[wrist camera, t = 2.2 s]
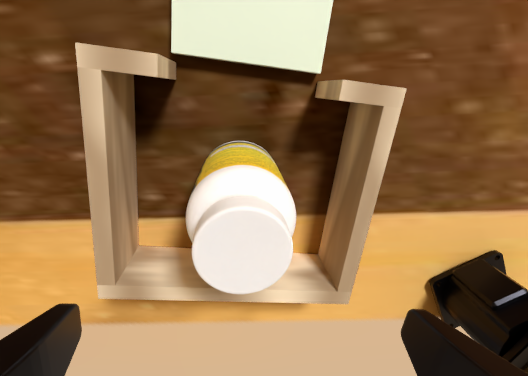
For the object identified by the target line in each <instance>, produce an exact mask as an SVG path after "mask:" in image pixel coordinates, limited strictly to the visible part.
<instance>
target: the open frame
mask: <svg viewBox="0 0 528 376" xmlns="http://www.w3.org/2000/svg"><path fill="white" fill-rule="evenodd" d="M75 46H76V57H77V68H78V79H79V90H80V101H81V112H82V123H83V134H84V145H85V156H86V167H87V178H88V189H89V200H90V212H91V223H92V234H93V245H94V256H95V267H96V278H97V289H98V299H136V300H182V301H227V302H273V303H319V304H348V303H349V300H350V296H351V292H352V289H353V285H354V281H355V278H356V274H357V270H358V266H359V263H360V259H361V255H362V252H363V248H364V244H365V241H366V237H367V233H368V230H369V226H370V222H371V218H372V215H373V211H374V207H375V204H376V200H377V196H378V193H379V189H380V185H381V181H382V178H383V174H384V170H385V167H386V163H387V159H388V156H389V152H390V148H391V145H392V141H393V137H394V133H395V130H396V126H397V122H398V119H399V115H400V111H401V108H402V104H403V100H404V97H405V93H406V88H399V87H392V86H385V85H378V84H370V83H363V82H356V81H349V80H333V81H319V82H318V83H317V88H316V94H315V98H322V99H330V100H338V101H346V102H350V106H349V111H348V115H347V120H346V125H345V130H344V134H343V139H342V144H341V149H340V153H339V158H338V163H337V167H336V172H335V177H334V182H333V186H332V191H331V196H330V201H329V205H328V210H327V215H326V219H325V224H324V229H323V234H322V238H321V243H320V248H319V253H318V254H304V253H293V255H292V259H291V263H290V265H289V267H288V269H287V270H286V272H285V273H284V275H283V276H282V277H281V278H280V279H279V280H278V281H277V282H275V283H274V284H273V285H271V286H269V287H268V288H266V289H264V290H261V291H258V292H255V293H250V294H231V293H226V292H223V291H220V290H217V289H215V288H213V287H212V286H210V285H209V284H208V283H206V282H205V281H204V280H203V279H202V278H201V277H200V275H199V274H198V272H197V271H196V269H195V266H194V263H193V260H192V248H177V247H156V246H139V233H138V200H137V167H136V134H135V101H134V75H142V76H150V77H158V78H166V79H173V80H176V62H174V61H172V60H170V59H168V58H165V57H163V56H161V55H159V54H154V53H147V52H140V51H133V50H125V49H118V48H111V47H104V46H97V45H89V44H82V43H75Z"/></svg>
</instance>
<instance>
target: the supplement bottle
mask: <svg viewBox="0 0 528 376" xmlns="http://www.w3.org/2000/svg"><path fill="white" fill-rule="evenodd" d="M295 225H296V210H295V205H294V201H293V199H292V196H291V194H290V191H289V189H288V188H287V186H286V184H285V182H284V179H283V177H282V175H281V174H280V172H279V170H278V167H277V165H276V164H275V162H274V160H273V159H272V157H271V156H270V155H269V153H268V152H267V151H266V150H264V149H263V148H262V147H260V146H258V145H256V144H254V143H251V142H247V141H232V142H228V143H225V144H223V145H221V146H219V147H217V148H216V149H215V150H213V151H212V152H211V153H210V154H209V156H208V157H207V159H206V160H205V162H204V164H203V166H202V168H201V171H200V173H199V176H198V178H197V181H196V183H195V186H194V188H193V191H192V193H191V195H190V198H189V201H188V205H187V209H186V227H187V232H188V235H189V237H190V239H191V241H192V260H193V263H194V266H195V269H196V271H197V272H198V274H199V275H200V277H201V278H202V279H203V280H204V281H205V282H206V283H208V284H209V285H210V286H212V287H213V288H215V289H217V290H220V291H223V292H226V293H231V294H250V293H255V292H258V291H261V290H264V289H266V288H268V287H269V286H271V285H273V284H274V283H275V282H277V281H278V280H279V279H280V278H281V277H282V276H283V275H284V273H285V272H286V270H287V269H288V267H289V265H290V263H291V259H292V255H293V242H292V235H293V233H294V229H295Z"/></svg>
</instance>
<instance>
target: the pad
mask: <svg viewBox="0 0 528 376" xmlns="http://www.w3.org/2000/svg"><path fill="white" fill-rule="evenodd" d="M332 4H333V0H172V32H171V52H172V53H173V54H178V55H185V56H193V57H200V58H207V59H214V60H221V61H228V62H235V63H243V64H250V65H257V66H264V67H271V68H278V69H285V70H293V71H300V72H307V73H314V74H319V73H321V68H322V62H323V56H324V51H325V45H326V39H327V33H328V27H329V22H330V16H331V10H332Z"/></svg>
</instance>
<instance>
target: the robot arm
mask: <svg viewBox="0 0 528 376" xmlns="http://www.w3.org/2000/svg"><path fill="white" fill-rule="evenodd" d="M430 286H431V289H432V292H433V295H434V298H435V301H436V304H437V307H438V310H439V313H440V317H441V320H440V319H439V318H437V317H436V316H434V315H432V314H431V313H429V312H428V311H426V310H423V309H411V310H409V311H408V313H407V315H406V318H405V321H404V324H403V326H402V329H401V337H402V340H403V343H404V345H405V347H406V350H407V352H408V354H409V357H410V359H411V362H412V364H413V367H414V369H415V371H416V373H417V376H528V291H527V289H526V288H524V287H523V286H521V285H520V284H519V283H517V282H516V281H514V280H513V279H511V278H510V277H508V276H507V275H506V270H505V265H504V259H503V255H502V254H501V253H500V252H498V251H497V250H494V251H491V252H489V253H487V254H485V255H482V256H480V257H478V258H476V259H474V260H472V261H469V262H467V263H465V264H463V265H461V266H458V267H456V268H454V269H452V270H450V271H448V272H445V273H443V274H441V275H439V276H437V277H434V278H433V279H432V280H431V281H430ZM458 326H461V327H462V328H463V329H464V330H465V331H466V332H467V334H469V335H470V337H471V338H472V339H471V338H469V337H468V336H466V335H465V334H463V333H461V332H460V331H458V330H457V329H455V328H456V327H458ZM81 331H82V328H81V319H80V311H79V307H78V305H77V304H58V305H56V306H54V307H52V308H51V309H49V310H48V311H46V312H44V313H43V314H41V315H40V316H38V317H36V318H35V319H33V320H32V321H30V322H28V323H27V324H25V325H24V326H22V327H20V328H19V329H17V330H16V331H14V332H12V333H11V334H9V335H8V336H6V337H4V338H3V339H1V340H0V376H64V375H65V373H66V370H67V368H68V366H69V364H70V361H71V359H72V356H73V354H74V352H75V349H76V347H77V344H78V342H79V340H80V337H81Z"/></svg>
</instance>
